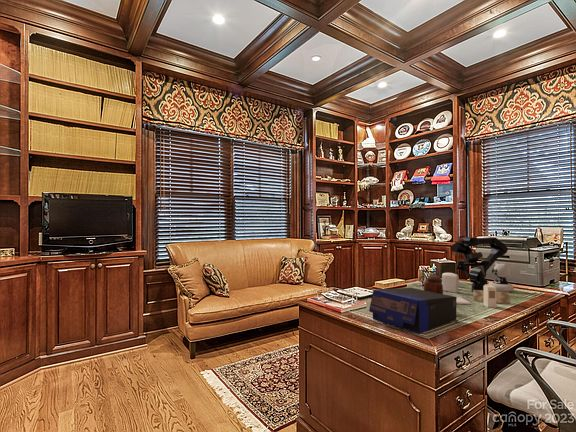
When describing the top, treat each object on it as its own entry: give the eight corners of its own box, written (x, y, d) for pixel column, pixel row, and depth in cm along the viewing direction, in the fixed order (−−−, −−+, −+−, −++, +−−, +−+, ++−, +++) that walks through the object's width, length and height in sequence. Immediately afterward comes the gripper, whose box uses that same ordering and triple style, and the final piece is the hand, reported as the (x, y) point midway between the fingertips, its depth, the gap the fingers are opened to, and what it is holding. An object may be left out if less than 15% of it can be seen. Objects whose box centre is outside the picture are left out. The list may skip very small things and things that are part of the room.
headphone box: (368, 320, 152) (368, 290, 152) (410, 308, 173) (410, 281, 173) (414, 336, 132) (415, 301, 132) (456, 320, 153) (456, 290, 153)
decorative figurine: (482, 287, 221) (482, 259, 221) (501, 287, 223) (502, 259, 223) (499, 293, 206) (499, 262, 206) (519, 292, 208) (519, 262, 208)
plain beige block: (491, 305, 178) (491, 285, 178) (496, 307, 174) (496, 287, 174) (483, 304, 179) (483, 285, 179) (488, 307, 174) (488, 287, 174)
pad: (460, 298, 191) (460, 297, 191) (470, 304, 179) (470, 302, 179) (440, 298, 192) (440, 296, 192) (448, 303, 180) (448, 302, 180)
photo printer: (440, 290, 213) (441, 272, 213) (443, 289, 216) (443, 271, 216) (456, 293, 205) (457, 274, 205) (459, 292, 208) (459, 273, 208)
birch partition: (474, 300, 188) (474, 290, 188) (473, 299, 189) (473, 289, 189) (509, 303, 182) (509, 293, 182) (508, 302, 183) (508, 292, 183)
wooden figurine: (447, 310, 168) (448, 276, 168) (440, 312, 164) (440, 277, 164) (427, 305, 178) (427, 273, 178) (420, 306, 175) (420, 274, 175)
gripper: (456, 248, 198) (465, 269, 187) (488, 247, 196) (498, 268, 185) (452, 258, 206) (459, 279, 195) (482, 257, 204) (492, 278, 193)
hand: (477, 276), depth 192 cm, fingers open, 9 cm apart
